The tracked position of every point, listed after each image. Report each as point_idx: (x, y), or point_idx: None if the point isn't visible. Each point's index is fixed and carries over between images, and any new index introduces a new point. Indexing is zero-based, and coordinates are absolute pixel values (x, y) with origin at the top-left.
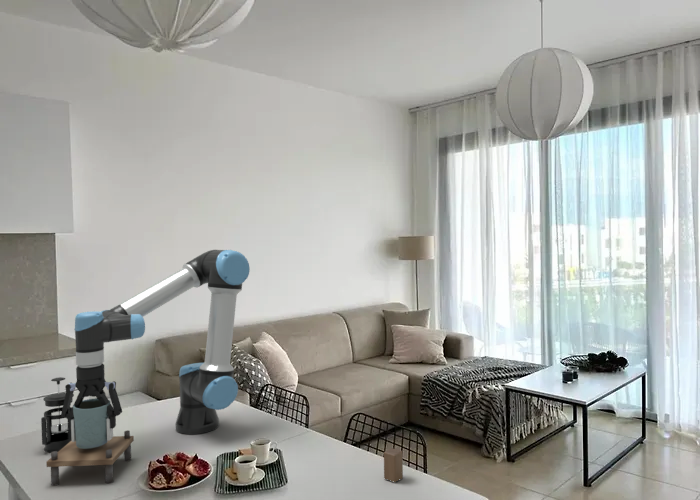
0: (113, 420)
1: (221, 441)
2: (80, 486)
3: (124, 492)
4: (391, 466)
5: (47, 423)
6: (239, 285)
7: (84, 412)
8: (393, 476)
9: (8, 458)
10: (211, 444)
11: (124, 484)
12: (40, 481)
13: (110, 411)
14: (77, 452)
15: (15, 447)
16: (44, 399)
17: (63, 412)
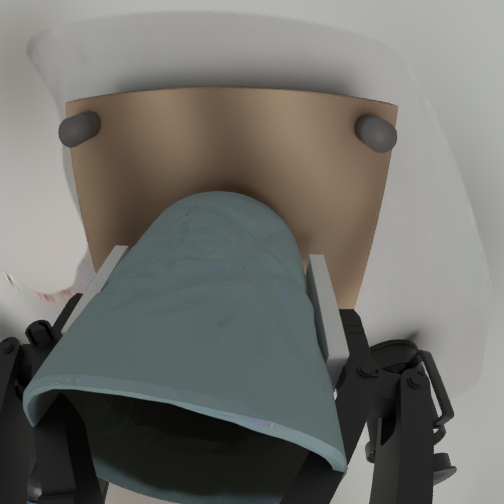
0: (55, 326)
1: (8, 328)
2: (228, 73)
3: (61, 36)
4: None
5: (432, 406)
6: None
7: (149, 354)
8: None
9: (485, 313)
10: (14, 320)
11: (78, 88)
12: (396, 144)
13: (33, 371)
14: (277, 200)
15: (469, 359)
16: (454, 470)
17: (417, 403)
